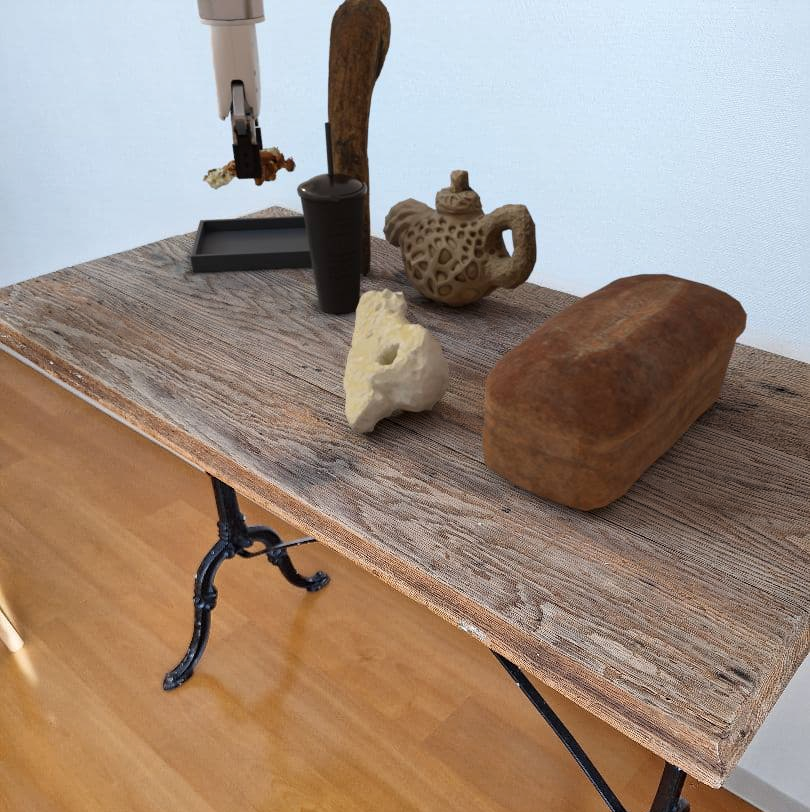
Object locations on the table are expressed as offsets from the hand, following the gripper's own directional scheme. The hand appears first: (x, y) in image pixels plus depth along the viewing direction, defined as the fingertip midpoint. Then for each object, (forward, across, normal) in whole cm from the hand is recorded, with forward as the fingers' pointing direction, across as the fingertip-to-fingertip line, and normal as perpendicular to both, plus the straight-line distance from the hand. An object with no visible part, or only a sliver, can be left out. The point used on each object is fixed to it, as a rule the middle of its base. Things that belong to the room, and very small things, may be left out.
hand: (250, 168), depth 105 cm
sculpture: (+11, +10, +14) cm, 20 cm away
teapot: (+11, +21, +24) cm, 34 cm away
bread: (+11, +52, +33) cm, 63 cm away
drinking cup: (+11, +20, +10) cm, 25 cm away
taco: (+1, +1, 0) cm, 2 cm away
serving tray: (+11, 0, 0) cm, 11 cm away
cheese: (+11, +42, +13) cm, 45 cm away
